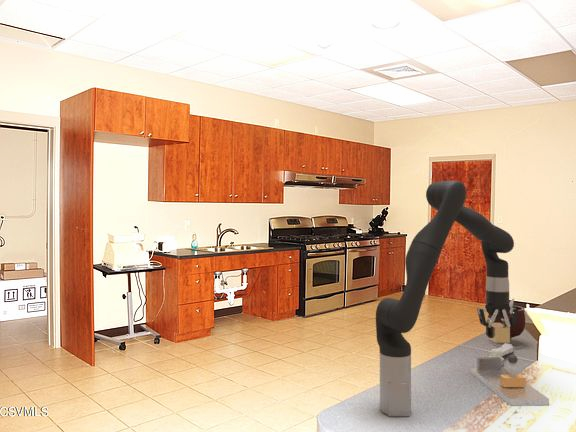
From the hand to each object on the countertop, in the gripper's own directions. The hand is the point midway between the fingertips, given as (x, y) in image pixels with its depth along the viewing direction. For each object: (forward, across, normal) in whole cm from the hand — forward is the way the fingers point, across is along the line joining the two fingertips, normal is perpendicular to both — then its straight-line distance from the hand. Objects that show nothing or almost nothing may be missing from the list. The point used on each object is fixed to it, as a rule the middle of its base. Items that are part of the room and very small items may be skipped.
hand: (497, 337), depth 165 cm
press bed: (+15, 0, -6) cm, 17 cm away
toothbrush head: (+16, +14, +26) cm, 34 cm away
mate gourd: (+16, +26, +46) cm, 55 cm away
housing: (+1, 0, 0) cm, 1 cm away
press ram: (+13, 0, -11) cm, 17 cm away
